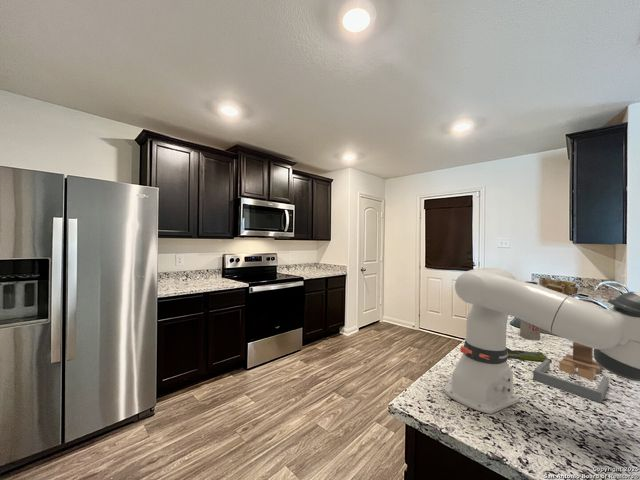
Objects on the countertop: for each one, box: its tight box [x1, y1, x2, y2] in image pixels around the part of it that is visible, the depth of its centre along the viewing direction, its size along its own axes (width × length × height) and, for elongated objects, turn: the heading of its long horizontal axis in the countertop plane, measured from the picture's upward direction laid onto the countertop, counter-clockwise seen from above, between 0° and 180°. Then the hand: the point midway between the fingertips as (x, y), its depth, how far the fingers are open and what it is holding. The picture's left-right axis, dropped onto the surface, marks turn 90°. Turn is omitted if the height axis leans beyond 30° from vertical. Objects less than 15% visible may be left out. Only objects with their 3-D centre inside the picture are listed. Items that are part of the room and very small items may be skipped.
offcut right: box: [577, 365, 597, 381], centre depth 95 cm, size 4×4×3 cm
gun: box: [506, 346, 553, 364], centre depth 114 cm, size 2×19×15 cm
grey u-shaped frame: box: [532, 359, 610, 404], centre depth 90 cm, size 16×16×3 cm
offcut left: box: [558, 359, 578, 375], centre depth 99 cm, size 4×4×3 cm
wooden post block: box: [562, 342, 604, 375], centre depth 103 cm, size 8×10×14 cm
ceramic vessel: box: [538, 276, 579, 296], centre depth 207 cm, size 23×24×25 cm
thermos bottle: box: [519, 281, 541, 341], centre depth 133 cm, size 8×8×28 cm
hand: (632, 324), depth 93 cm, fingers open, 8 cm apart
